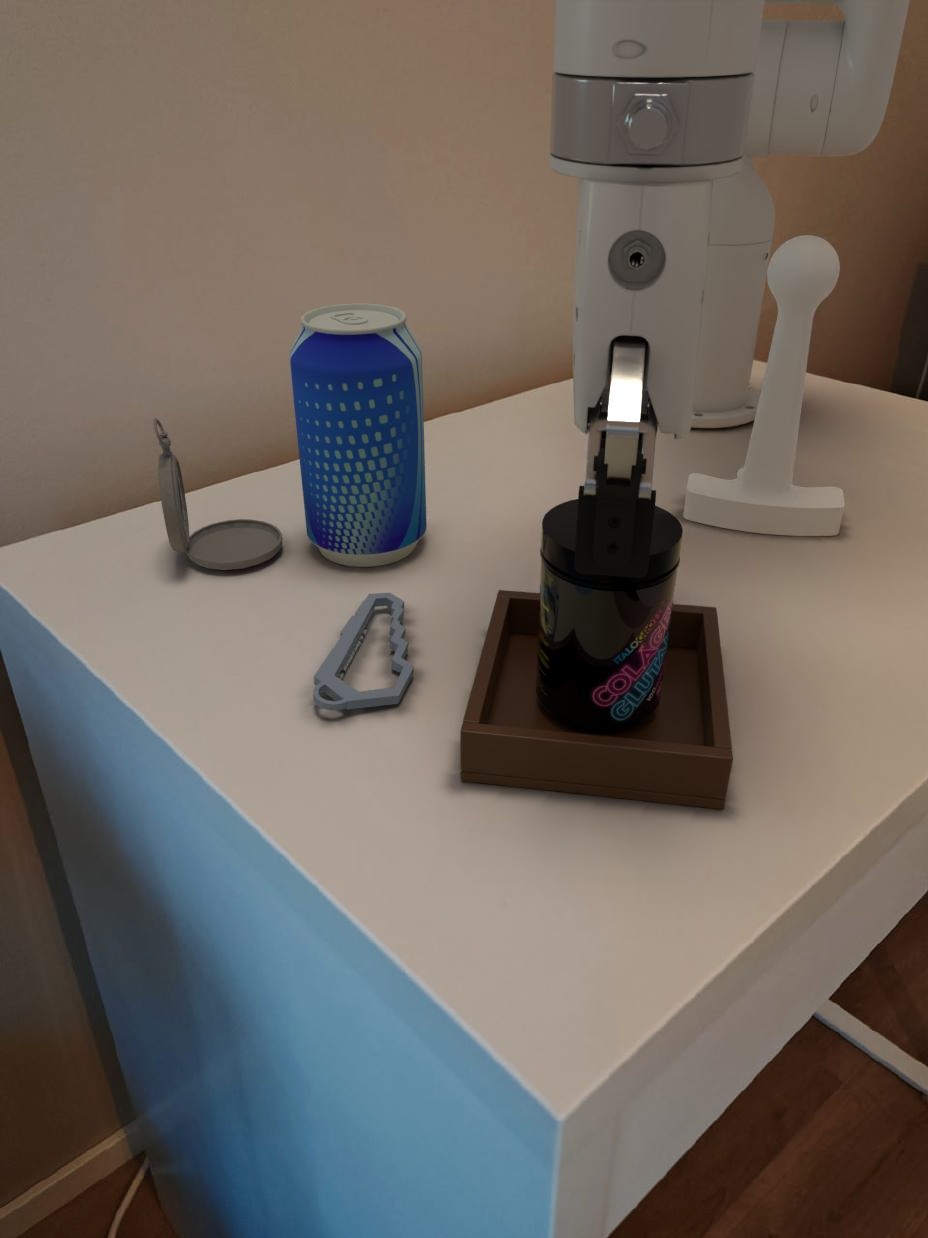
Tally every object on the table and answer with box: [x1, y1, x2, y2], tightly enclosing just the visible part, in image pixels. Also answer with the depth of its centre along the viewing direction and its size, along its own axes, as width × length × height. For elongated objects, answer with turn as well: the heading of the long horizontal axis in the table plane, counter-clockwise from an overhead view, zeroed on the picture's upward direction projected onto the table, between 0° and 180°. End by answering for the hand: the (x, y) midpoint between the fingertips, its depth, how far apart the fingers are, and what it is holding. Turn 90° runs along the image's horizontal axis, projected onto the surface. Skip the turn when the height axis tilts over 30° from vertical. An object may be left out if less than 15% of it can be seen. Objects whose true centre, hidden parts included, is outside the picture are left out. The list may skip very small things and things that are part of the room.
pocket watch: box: [153, 418, 283, 571], centre depth 65 cm, size 8×8×10 cm
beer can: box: [289, 302, 427, 568], centre depth 64 cm, size 8×8×16 cm
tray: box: [459, 589, 734, 810], centre depth 51 cm, size 14×13×3 cm
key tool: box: [312, 592, 415, 712], centre depth 56 cm, size 12×1×5 cm
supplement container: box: [536, 498, 684, 734], centre depth 49 cm, size 7×7×10 cm
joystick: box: [682, 234, 846, 537], centre depth 68 cm, size 11×8×20 cm
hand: (614, 522), depth 47 cm, fingers open, 9 cm apart
